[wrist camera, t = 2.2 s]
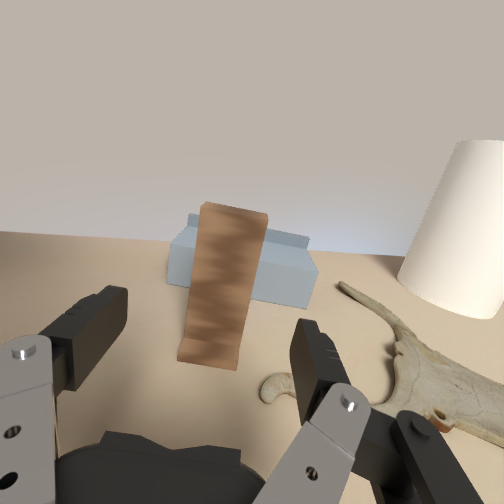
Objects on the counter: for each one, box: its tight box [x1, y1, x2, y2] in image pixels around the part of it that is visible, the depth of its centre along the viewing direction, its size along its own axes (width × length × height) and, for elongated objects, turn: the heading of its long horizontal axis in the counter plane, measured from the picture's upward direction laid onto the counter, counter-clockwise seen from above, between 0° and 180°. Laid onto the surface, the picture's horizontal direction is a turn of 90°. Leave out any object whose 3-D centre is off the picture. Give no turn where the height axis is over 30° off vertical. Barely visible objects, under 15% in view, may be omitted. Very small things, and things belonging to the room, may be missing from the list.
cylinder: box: [397, 140, 504, 319], centre depth 48 cm, size 17×17×28 cm
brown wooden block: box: [177, 202, 268, 371], centre depth 24 cm, size 6×6×14 cm
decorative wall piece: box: [260, 281, 504, 448], centre depth 28 cm, size 30×3×30 cm
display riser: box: [167, 214, 318, 309], centre depth 39 cm, size 20×10×8 cm, turn 89°
